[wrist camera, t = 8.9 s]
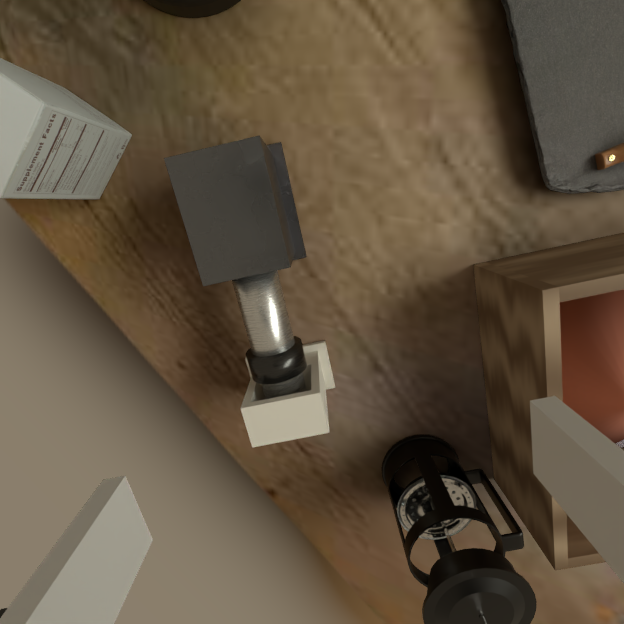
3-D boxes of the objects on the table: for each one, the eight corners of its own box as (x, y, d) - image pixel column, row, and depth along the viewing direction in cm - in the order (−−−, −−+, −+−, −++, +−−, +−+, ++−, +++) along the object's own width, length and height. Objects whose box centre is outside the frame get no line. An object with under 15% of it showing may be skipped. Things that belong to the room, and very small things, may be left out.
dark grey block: (190, 164, 36) (146, 150, 26) (281, 143, 35) (270, 120, 26) (222, 274, 39) (193, 298, 29) (306, 256, 38) (305, 273, 29)
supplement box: (30, 156, 36) (-114, 131, 24) (63, 84, 34) (-74, 18, 22) (100, 202, 37) (-2, 202, 25) (136, 135, 35) (44, 100, 23)
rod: (223, 244, 34) (208, 251, 29) (278, 232, 34) (272, 237, 29) (265, 397, 39) (259, 426, 34) (315, 387, 38) (315, 415, 33)
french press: (383, 506, 47) (447, 770, 25) (369, 444, 45) (427, 677, 23) (475, 488, 47) (624, 743, 25) (467, 424, 44) (624, 645, 22)
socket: (245, 356, 42) (226, 402, 32) (324, 340, 41) (329, 382, 31) (258, 400, 43) (243, 456, 33) (334, 385, 43) (342, 438, 33)
